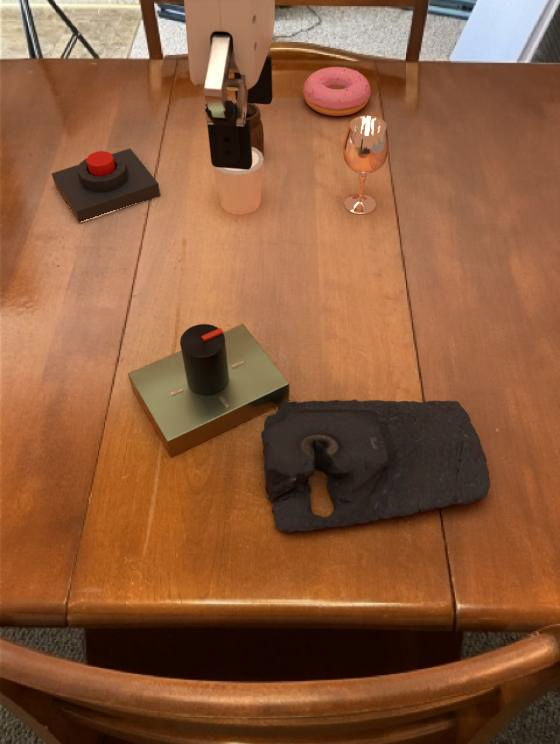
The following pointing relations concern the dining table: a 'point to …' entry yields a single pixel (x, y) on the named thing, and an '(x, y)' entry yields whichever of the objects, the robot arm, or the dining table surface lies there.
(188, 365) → the dial
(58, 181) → the button box
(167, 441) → the control panel
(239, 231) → the dining table surface
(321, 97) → the doughnut
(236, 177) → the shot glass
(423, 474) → the dark grey slotted slab
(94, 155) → the button
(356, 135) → the wineglass
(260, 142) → the utensil holder
